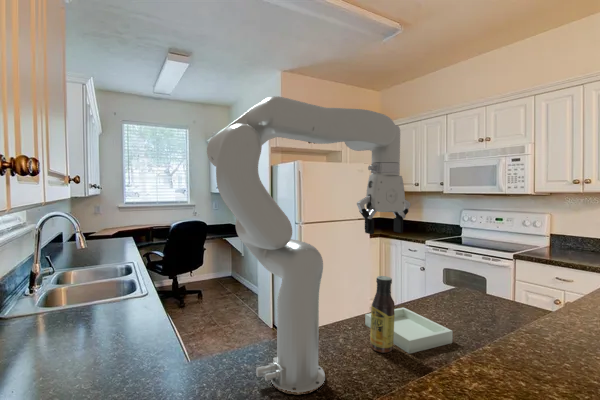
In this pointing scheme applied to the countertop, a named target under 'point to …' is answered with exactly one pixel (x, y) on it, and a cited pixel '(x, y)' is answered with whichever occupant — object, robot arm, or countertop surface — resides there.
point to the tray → (416, 331)
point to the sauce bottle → (382, 317)
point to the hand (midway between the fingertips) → (384, 232)
